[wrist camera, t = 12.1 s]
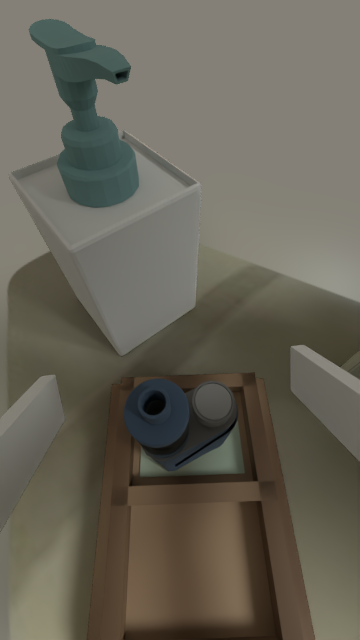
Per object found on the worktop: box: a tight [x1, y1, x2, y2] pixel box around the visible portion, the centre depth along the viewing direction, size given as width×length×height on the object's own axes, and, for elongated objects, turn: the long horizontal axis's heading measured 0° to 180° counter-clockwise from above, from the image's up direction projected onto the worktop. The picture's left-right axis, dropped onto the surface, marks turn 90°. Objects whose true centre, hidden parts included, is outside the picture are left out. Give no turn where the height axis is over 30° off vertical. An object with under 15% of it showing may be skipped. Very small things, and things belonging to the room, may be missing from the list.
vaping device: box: [124, 379, 238, 471], centre depth 14 cm, size 3×5×12 cm, turn 116°
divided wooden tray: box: [87, 373, 315, 640], centre depth 18 cm, size 12×15×3 cm
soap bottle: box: [9, 19, 202, 356], centre depth 19 cm, size 9×9×19 cm
